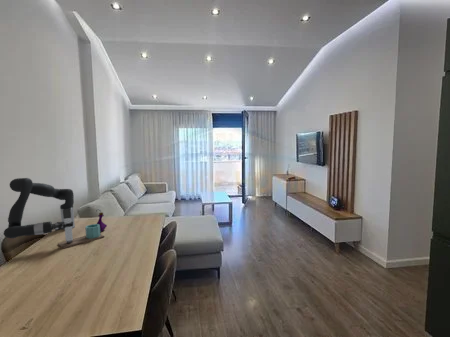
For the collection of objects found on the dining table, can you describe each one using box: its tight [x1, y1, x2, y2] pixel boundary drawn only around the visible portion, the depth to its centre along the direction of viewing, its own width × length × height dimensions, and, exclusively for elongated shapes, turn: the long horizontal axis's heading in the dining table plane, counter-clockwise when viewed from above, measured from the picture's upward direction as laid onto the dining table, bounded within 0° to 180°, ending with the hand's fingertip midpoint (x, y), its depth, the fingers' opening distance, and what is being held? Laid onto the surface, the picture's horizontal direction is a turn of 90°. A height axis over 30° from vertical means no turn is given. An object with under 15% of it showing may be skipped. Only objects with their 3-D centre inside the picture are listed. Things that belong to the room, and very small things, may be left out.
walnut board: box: [57, 233, 105, 250], centre depth 186 cm, size 12×27×1 cm, turn 138°
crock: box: [84, 223, 101, 239], centre depth 192 cm, size 9×9×8 cm
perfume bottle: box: [95, 208, 108, 233], centre depth 207 cm, size 8×8×18 cm
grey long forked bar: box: [63, 208, 74, 244], centre depth 179 cm, size 4×4×24 cm
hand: (72, 223), depth 180 cm, fingers closed on grey long forked bar, 3 cm apart
